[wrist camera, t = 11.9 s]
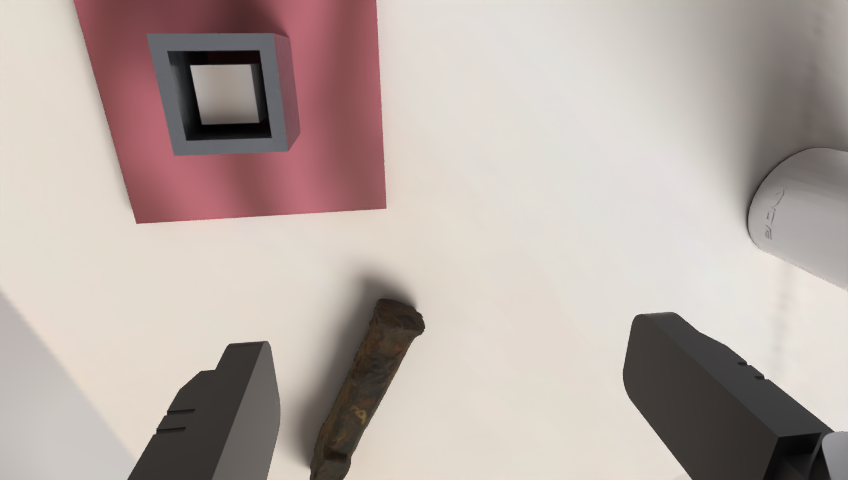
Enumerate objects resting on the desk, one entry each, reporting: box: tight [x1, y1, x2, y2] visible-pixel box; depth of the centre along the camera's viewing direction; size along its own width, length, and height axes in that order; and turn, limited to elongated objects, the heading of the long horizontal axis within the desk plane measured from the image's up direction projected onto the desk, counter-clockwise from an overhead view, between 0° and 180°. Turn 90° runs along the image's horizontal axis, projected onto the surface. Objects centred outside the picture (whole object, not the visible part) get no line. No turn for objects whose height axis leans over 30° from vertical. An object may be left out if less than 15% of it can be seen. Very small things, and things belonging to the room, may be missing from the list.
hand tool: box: [310, 299, 425, 480], centre depth 35 cm, size 19×4×5 cm, turn 152°
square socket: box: [146, 33, 301, 156], centre depth 24 cm, size 5×5×6 cm
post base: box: [74, 0, 386, 224], centre depth 25 cm, size 16×16×6 cm
